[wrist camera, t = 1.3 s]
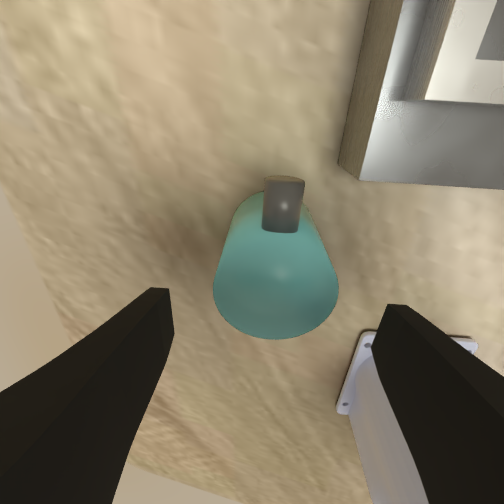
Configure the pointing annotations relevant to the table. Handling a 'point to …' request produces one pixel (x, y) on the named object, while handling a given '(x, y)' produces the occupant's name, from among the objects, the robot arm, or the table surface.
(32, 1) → the table surface
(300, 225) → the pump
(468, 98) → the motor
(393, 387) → the robot arm
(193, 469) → the table surface
